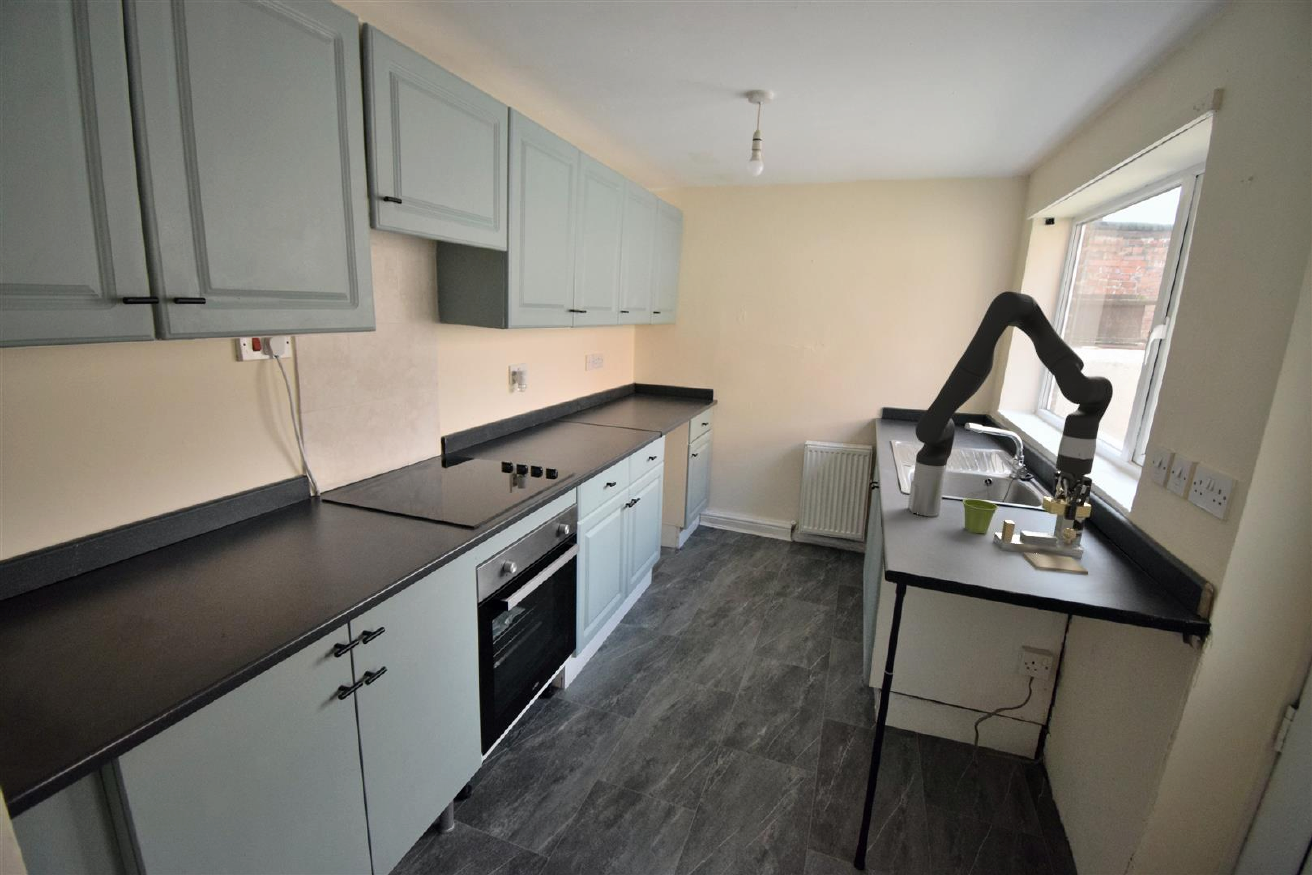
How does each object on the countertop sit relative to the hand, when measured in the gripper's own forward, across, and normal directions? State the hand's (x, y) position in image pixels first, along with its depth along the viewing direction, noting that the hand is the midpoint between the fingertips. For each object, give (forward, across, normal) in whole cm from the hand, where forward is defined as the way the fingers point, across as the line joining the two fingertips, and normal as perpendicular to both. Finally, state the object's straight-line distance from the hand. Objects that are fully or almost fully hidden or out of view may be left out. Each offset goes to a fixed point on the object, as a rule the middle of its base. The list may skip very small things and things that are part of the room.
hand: (1064, 515), depth 148 cm
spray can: (+14, -19, +11) cm, 26 cm away
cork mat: (+14, 0, 0) cm, 14 cm away
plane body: (+14, -10, -1) cm, 17 cm away
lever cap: (-1, 0, 0) cm, 1 cm away
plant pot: (+14, -21, -13) cm, 28 cm away
